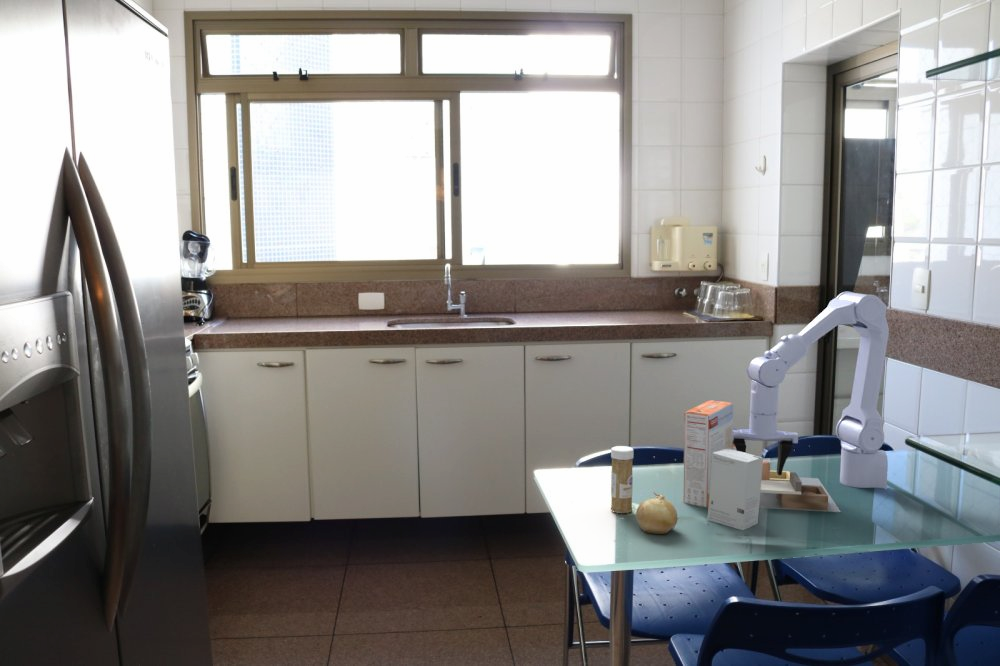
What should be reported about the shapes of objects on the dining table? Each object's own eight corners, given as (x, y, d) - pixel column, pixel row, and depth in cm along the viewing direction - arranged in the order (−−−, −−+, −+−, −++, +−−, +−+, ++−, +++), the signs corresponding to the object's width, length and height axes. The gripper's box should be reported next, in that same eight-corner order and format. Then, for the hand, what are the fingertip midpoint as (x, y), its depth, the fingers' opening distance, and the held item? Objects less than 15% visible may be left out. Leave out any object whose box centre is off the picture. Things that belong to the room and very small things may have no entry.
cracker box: (706, 490, 189) (708, 398, 187) (732, 495, 186) (735, 402, 183) (680, 507, 178) (683, 410, 175) (708, 513, 175) (711, 414, 172)
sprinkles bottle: (630, 515, 173) (631, 451, 172) (608, 513, 175) (609, 449, 173) (634, 508, 178) (635, 446, 176) (612, 506, 179) (613, 444, 177)
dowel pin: (768, 486, 188) (769, 460, 187) (770, 491, 185) (771, 464, 184) (751, 485, 189) (752, 459, 188) (753, 490, 185) (754, 464, 185)
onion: (684, 535, 163) (685, 499, 162) (647, 540, 160) (647, 503, 159) (665, 521, 170) (665, 487, 169) (628, 525, 168) (629, 491, 167)
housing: (820, 499, 180) (821, 485, 179) (827, 510, 173) (828, 496, 172) (776, 497, 181) (776, 483, 181) (781, 508, 174) (782, 494, 174)
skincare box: (706, 525, 168) (708, 452, 166) (723, 518, 172) (725, 446, 170) (744, 536, 162) (747, 461, 160) (760, 529, 166) (763, 455, 164)
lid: (795, 484, 180) (795, 472, 180) (801, 494, 173) (801, 482, 173) (756, 482, 181) (756, 470, 181) (760, 492, 175) (761, 480, 174)
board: (817, 483, 194) (818, 471, 194) (840, 517, 172) (841, 504, 172) (745, 480, 197) (746, 468, 197) (759, 513, 175) (759, 500, 174)
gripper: (795, 409, 187) (792, 469, 189) (727, 407, 190) (725, 466, 191) (801, 416, 180) (797, 478, 182) (730, 414, 183) (728, 475, 185)
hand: (760, 473), depth 186 cm, fingers open, 7 cm apart
